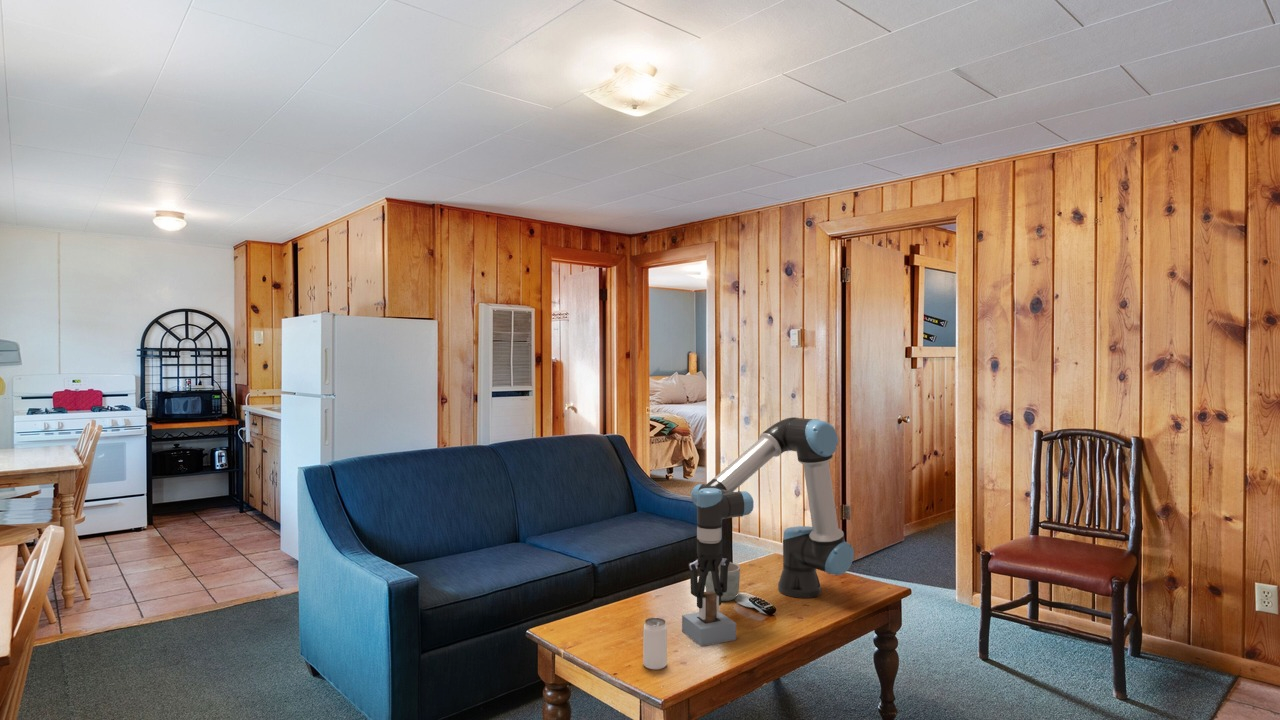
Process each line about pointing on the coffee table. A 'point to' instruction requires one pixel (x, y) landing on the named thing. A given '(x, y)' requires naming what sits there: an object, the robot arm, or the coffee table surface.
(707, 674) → the coffee table surface
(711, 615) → the dowel
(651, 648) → the can
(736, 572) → the planter
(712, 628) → the socket
